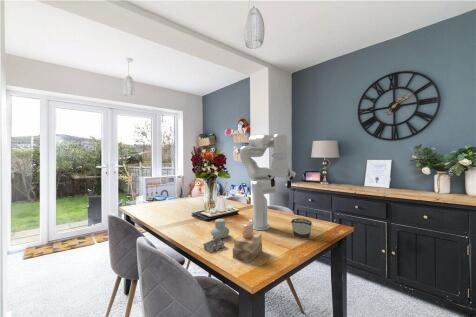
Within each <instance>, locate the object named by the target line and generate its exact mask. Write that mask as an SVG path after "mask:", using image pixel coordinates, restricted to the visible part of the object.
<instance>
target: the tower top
mask: <svg viewBox="0 0 476 317" xmlns="http://www.w3.org/2000/svg"><path fill="white" fill-rule="evenodd" d="M262 234H263V233H258V232H253V238H251V239H245V238H243V233H241V234H240V235H239V236H237V237H236V238H235V239H234V242H233V246H234V247H233V248H234V250H239V251H244V252H250V253H253V252H254V250H255V249H256V248H257V247H258V246H259V245H260V244H261V243H262V241H263V240H262V239H263V238H262V236H263V235H262ZM262 244H263V243H262Z"/></svg>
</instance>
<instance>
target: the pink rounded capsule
mask: <svg viewBox="0 0 476 317" xmlns="http://www.w3.org/2000/svg"><path fill="white" fill-rule="evenodd" d="M253 233H254V229H253V224H252V223H249V222H246V223H245V222H244V223H243V224H242V234H243V238H245V239H251V238H253Z"/></svg>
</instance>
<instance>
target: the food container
mask: <svg viewBox="0 0 476 317" xmlns="http://www.w3.org/2000/svg"><path fill="white" fill-rule="evenodd" d="M290 223H291V228H292V234H293V235H292V237H293V238H299V239H303V240H308V239H309V240H311V233H312V232H311V231H312V227H313V222H312V221H311V219H307V218H301V217H299V218H292V219H291V221H290Z"/></svg>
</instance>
